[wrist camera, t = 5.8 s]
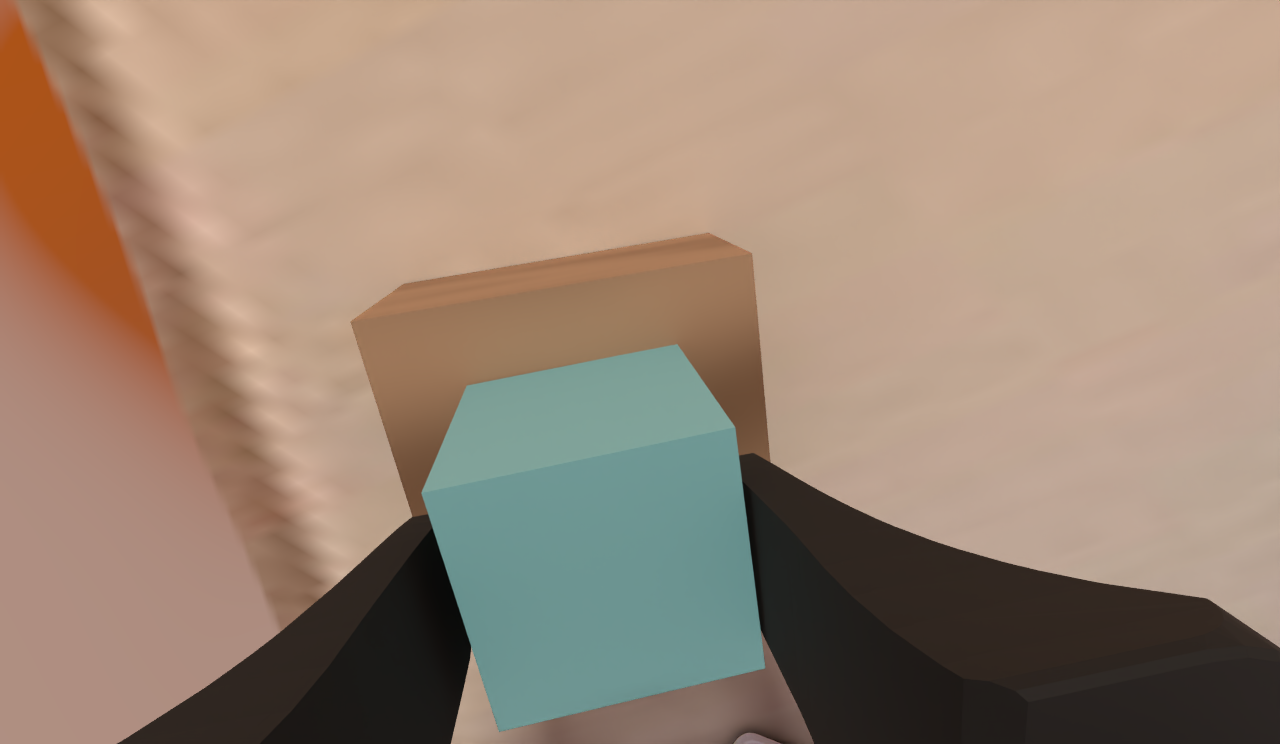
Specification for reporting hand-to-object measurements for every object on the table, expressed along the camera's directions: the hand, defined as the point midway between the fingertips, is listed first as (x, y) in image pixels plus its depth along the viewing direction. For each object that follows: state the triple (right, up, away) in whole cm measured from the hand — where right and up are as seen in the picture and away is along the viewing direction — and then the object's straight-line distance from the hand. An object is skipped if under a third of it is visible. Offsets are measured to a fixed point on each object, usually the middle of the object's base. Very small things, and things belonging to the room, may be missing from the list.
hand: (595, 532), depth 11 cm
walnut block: (-1, +2, +6) cm, 7 cm away
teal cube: (0, +1, +2) cm, 3 cm away
